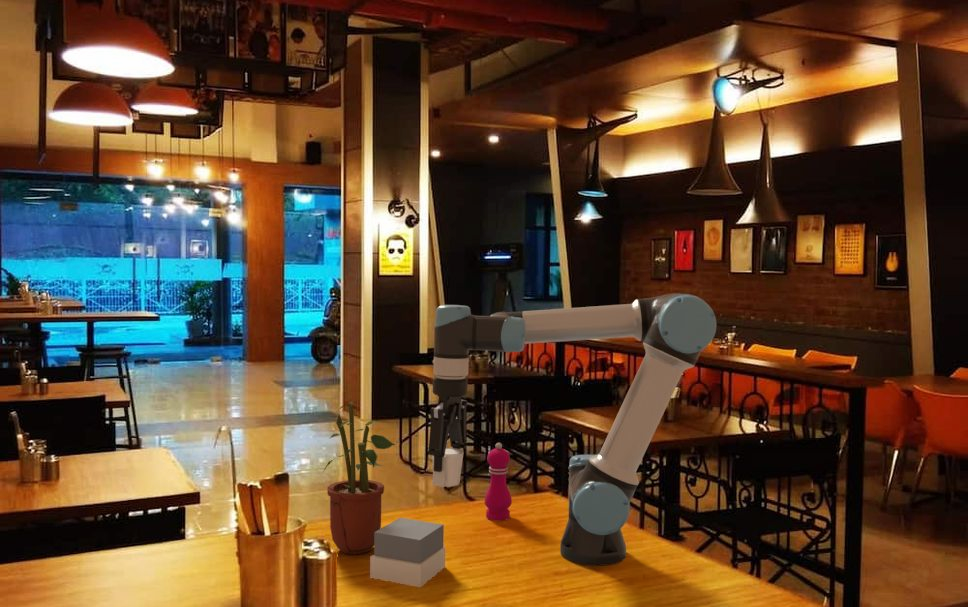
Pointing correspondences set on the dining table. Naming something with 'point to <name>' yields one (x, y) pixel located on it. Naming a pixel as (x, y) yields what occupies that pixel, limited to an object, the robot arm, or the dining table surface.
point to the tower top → (408, 540)
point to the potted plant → (356, 493)
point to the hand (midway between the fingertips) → (446, 481)
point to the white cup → (453, 466)
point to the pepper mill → (498, 485)
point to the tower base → (407, 569)
